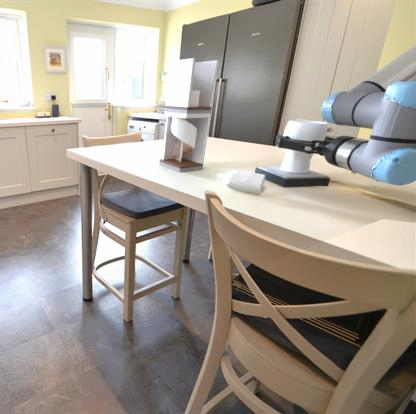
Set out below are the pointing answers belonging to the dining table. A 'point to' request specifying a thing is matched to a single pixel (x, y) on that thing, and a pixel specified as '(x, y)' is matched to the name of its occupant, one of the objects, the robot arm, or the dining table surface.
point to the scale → (292, 177)
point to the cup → (306, 132)
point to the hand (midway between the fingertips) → (299, 139)
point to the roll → (243, 181)
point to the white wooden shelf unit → (188, 113)
